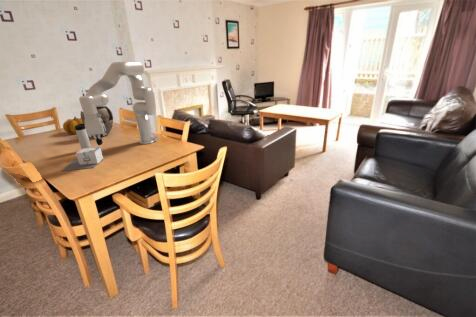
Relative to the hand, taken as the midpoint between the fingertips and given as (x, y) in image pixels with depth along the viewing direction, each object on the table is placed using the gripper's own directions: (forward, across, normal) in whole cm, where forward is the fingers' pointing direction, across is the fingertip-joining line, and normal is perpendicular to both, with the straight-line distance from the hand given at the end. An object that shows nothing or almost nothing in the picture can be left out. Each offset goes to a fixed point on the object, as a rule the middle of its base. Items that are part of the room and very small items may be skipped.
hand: (100, 144), depth 154 cm
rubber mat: (+12, +13, +1) cm, 17 cm away
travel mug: (+12, +20, -26) cm, 36 cm away
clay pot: (+13, +22, -66) cm, 71 cm away
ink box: (+7, +2, 0) cm, 8 cm away
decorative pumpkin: (+13, +50, -85) cm, 99 cm away
